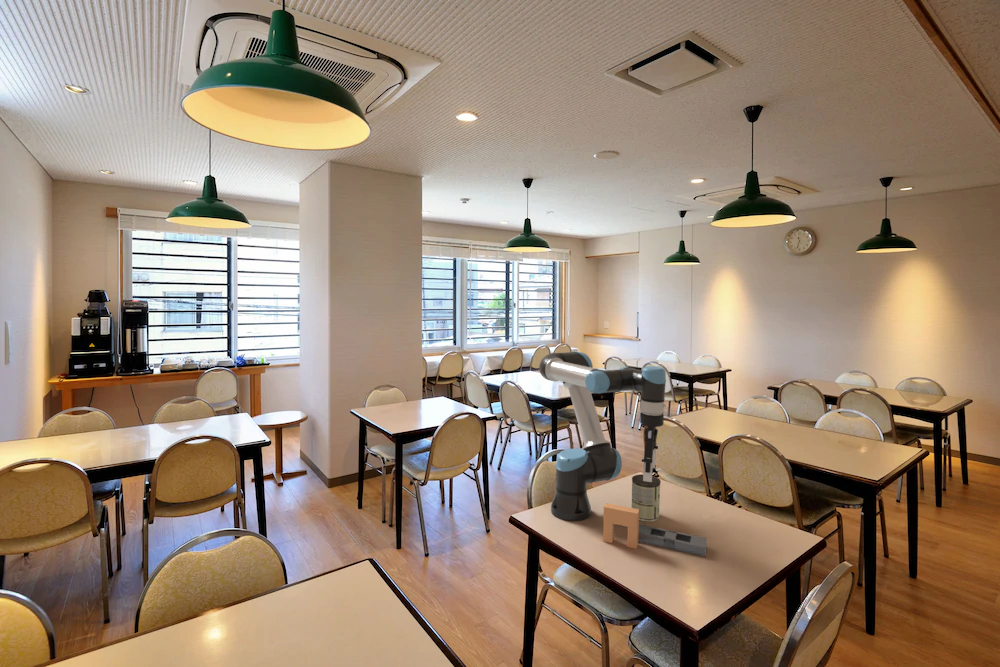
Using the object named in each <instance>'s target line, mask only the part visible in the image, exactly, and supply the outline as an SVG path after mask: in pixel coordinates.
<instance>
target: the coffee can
mask: <svg viewBox="0 0 1000 667" xmlns="http://www.w3.org/2000/svg"><path fill="white" fill-rule="evenodd" d="M631 482H632V483H631V508H634V509H639V521H641V522H648V523H649V522H650V523H651V522H656V521H658V520H659V519H660V505H661V504H660V503H661V501H660V498H661V497H660V495H661V479H660V478H659V477H656V476H653V475H652V482H647V481H643V474H636V475H633V476H632V477H631Z"/></svg>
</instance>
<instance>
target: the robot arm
mask: <svg viewBox="0 0 1000 667" xmlns="http://www.w3.org/2000/svg"><path fill="white" fill-rule="evenodd" d="M538 370H539V373H540V375H541V376H542V377H543V378H544V379H545V380H547V381H551V382H562V383H563V387H564V388H567V389H568V393H569V396H570V400H571V403H572V406H573V410H574V414H575V417H576V420H577V424H578V427H579V431H580V434H581V439H582V442H583V446H582V447H581V448H567V449H564V450H562V451H560V452H559V453H558V454H557V456H556V462H555V470H556V471H555V472H556V473H555V475H556V476H555V493H554V496H553V498H552V501H551V504H550V512H551V514H552V515H553V516H555V517H557V518H558V519H561V520H563V521H564V520H565V521H576V522H577V521H583V520H586V519H588V518H589V517H590V516H591V515H592V507H591V504H590V501H589V496H588V493H587V492H588V489H587V488H588V487H587V486H588V484H593V483H599V482H605V481H609V480H614V479H616V478H618V477H619V475H620V473H621V470H622V467H623V461H622V456H621V454H620V452H619V450H617V449H616V448H614V447H612V446H611V442H610V441H608V440H607V439H606V438H605V435H604V432H603V429H602V425H601V422H600V421H601V420H600V418H599V416H598V412H597V408H596V405H595V401H594V399H593V396H592V394H604V393H605V394H606V393H614V392H625V391H626V392H628V391H633V392H638V393H641V397H640V410H639V411H641V412H640V414H639V415H640V417H639V419H640V420H639V422H640V423H639V424H641V425H643V426H646V427H645V429H644V450H643V451H644V454H643V458H642V459H641V462H642V463H643V474H642V475H643V481H647V482H652V476H653V469H655V468H656V458H657V457H656V456H657V455H656V454H657V450H658V449H659V446H658V445H657V438H658V432H659V431H658V429H657V428H658V427H662V426H664V421H665V419H664V418H665V417H664V413H665V408H666V407H667V404H666V403H665V397H666V395H665V394H666V382H667V380H666V379H667V378H666V377H667V376H666V369H665V368H664V367H661V366H653V365H652V366H651V365H648V366H644V367H643V368H642V370H641V369H637V368H634V367H631V366H629V367H626V366H625V367H624V366H623V367H620V368H619V369H609V370H608V369H607V370H603V369H601V368H600V369H598V368H595V367H593V362H592V360H591V358H590V356H588V354H586V353H584V352H580V351H569V352H568V351H567V352H552V353H549V354H546V355H545V356H544V357H543V358H542V359H541V360H540V362H539V366H538Z"/></svg>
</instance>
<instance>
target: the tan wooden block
mask: <svg viewBox="0 0 1000 667" xmlns="http://www.w3.org/2000/svg"><path fill="white" fill-rule="evenodd" d="M639 524H640V520H639V509H634V508H632V507H629V506H625V505H624V506H623V505H618V504H614V503H613V504H612V503H607V502H606V503H605V504H604V506H603V531H602V532H603V533H602V536H603V537H602V542H603V543H609V544H613V543H614V540H615V525H618V526H624V527H627V539H626V540H627V541H626V543H627V544H626V545H627V546H626V547H627V548H631V549H635V550H637V548H638V546H639V542H638V534H639Z"/></svg>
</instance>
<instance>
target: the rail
mask: <svg viewBox="0 0 1000 667" xmlns="http://www.w3.org/2000/svg"><path fill="white" fill-rule="evenodd" d="M638 543H643V544H647V545H651V546H655V547H661V548H665V549H668V550H673V551H678V552H682V553H687V554H691V555H695V556H699V557H703V558H704V557H705V558H706V557H707V556H706V554H707V545H708V544H707V543H708V538H707V537H704V536H698V535H693V534H689V533H685V532H684V533H683V532H680V531H675V530H670V529H666V528H665V529H664V528H660V527H656V526H651V525H645V524H642V523H639V534H638Z"/></svg>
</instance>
